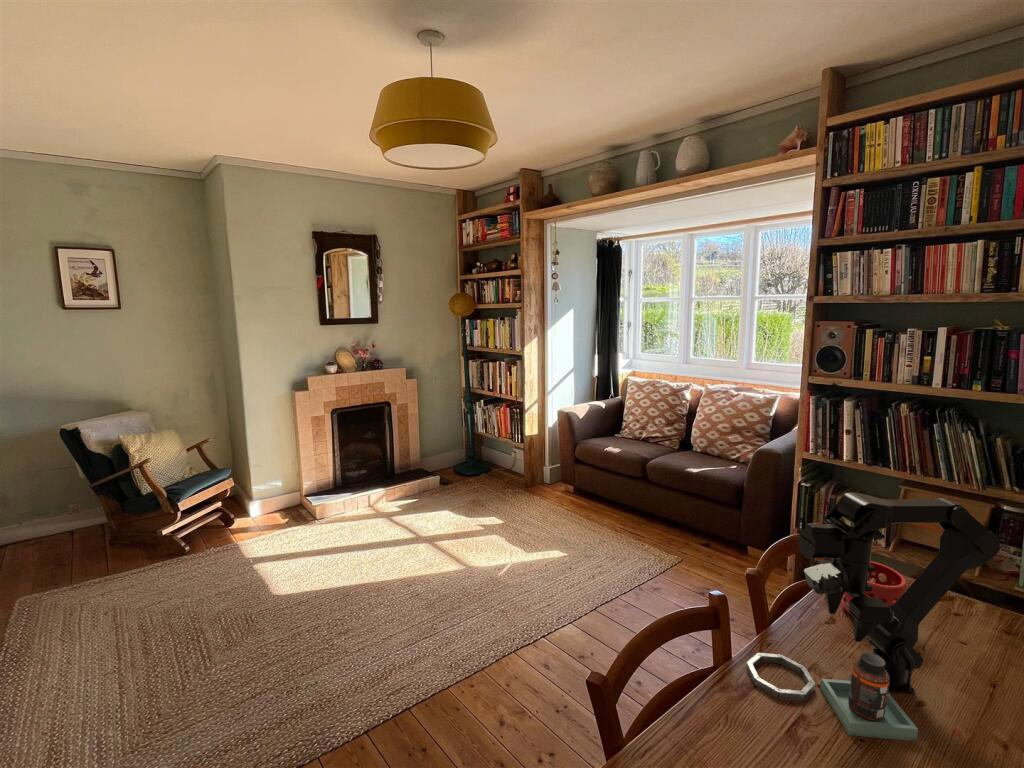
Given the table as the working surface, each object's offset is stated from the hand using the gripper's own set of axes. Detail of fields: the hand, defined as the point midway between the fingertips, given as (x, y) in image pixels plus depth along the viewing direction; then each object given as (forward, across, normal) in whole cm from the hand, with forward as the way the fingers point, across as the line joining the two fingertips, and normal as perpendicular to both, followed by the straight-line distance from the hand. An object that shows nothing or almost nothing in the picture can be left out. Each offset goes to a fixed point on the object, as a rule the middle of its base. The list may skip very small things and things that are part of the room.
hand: (844, 626), depth 109 cm
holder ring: (+13, 0, -12) cm, 17 cm away
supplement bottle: (+13, +8, +1) cm, 15 cm away
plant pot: (+13, -25, +22) cm, 36 cm away
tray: (+13, +8, +1) cm, 15 cm away
